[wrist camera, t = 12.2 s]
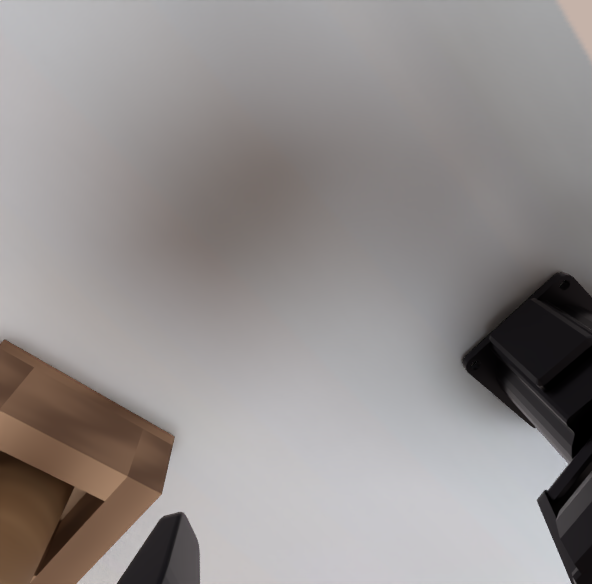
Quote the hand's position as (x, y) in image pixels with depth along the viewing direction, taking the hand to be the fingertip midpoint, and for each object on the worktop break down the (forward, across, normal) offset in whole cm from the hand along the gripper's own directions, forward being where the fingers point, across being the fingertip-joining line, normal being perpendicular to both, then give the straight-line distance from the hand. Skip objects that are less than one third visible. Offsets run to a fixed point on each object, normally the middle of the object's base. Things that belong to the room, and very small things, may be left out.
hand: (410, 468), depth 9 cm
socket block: (+12, +15, +6) cm, 21 cm away
